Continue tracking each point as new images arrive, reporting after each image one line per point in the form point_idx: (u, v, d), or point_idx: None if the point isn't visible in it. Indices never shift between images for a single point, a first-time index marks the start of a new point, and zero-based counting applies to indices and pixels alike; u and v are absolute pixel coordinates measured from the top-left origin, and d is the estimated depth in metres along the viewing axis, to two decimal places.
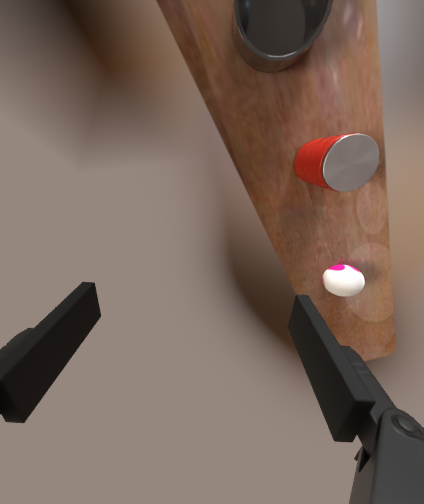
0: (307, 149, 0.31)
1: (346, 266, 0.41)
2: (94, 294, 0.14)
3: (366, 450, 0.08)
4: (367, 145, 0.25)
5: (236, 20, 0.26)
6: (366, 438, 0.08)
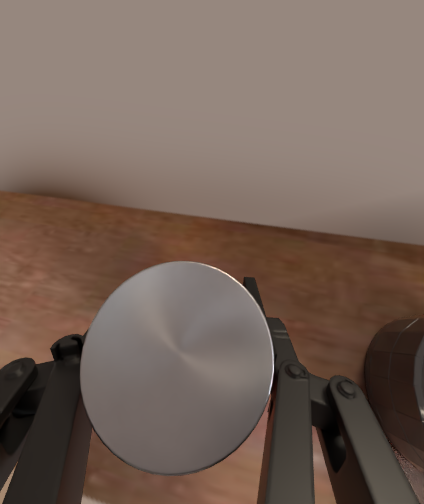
0: None
1: None
2: None
3: (273, 401, 0.10)
4: (202, 435, 0.06)
5: None
6: (271, 391, 0.10)
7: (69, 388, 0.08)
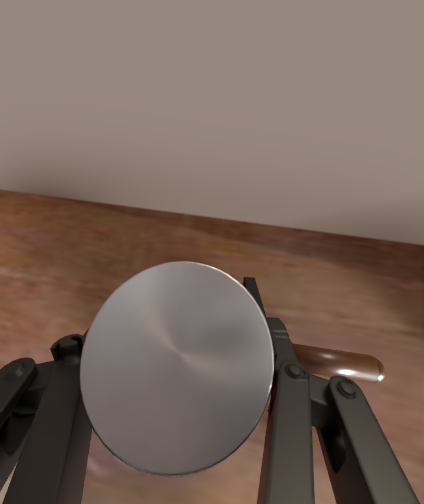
0: None
1: None
2: None
3: (273, 401, 0.10)
4: (202, 436, 0.06)
5: None
6: (271, 391, 0.10)
7: (69, 388, 0.08)
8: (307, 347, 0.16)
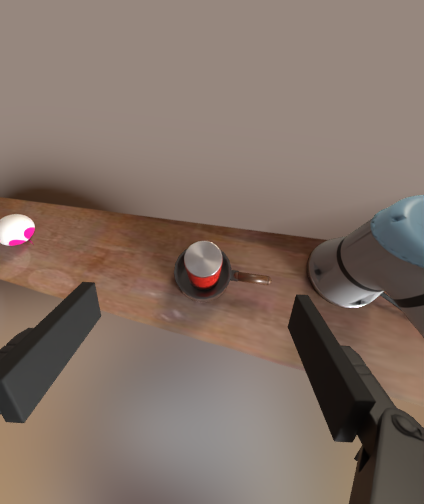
0: None
1: (23, 238, 0.47)
2: (94, 294, 0.14)
3: (366, 450, 0.08)
4: (208, 271, 0.35)
5: None
6: (366, 438, 0.08)
7: None
8: None
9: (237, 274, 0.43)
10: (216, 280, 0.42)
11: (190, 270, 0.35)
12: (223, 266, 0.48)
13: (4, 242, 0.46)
